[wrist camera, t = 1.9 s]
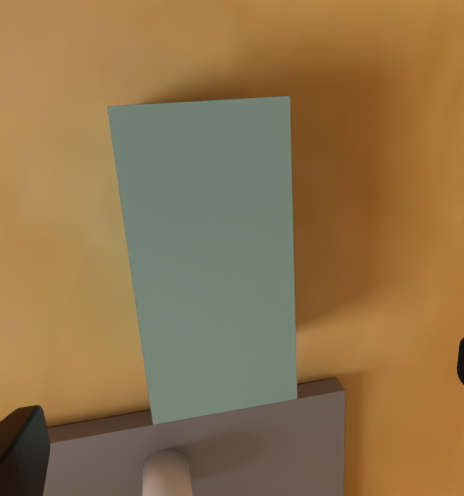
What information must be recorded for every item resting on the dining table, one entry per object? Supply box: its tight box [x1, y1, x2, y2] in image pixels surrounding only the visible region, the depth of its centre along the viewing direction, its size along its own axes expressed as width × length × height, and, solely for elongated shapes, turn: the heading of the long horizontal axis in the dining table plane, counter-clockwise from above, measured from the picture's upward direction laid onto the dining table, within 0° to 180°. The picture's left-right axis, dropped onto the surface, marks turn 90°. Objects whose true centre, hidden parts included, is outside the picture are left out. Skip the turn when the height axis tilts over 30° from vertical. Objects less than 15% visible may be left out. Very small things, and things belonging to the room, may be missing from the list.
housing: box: [107, 96, 297, 425], centre depth 17 cm, size 6×12×5 cm, turn 4°
